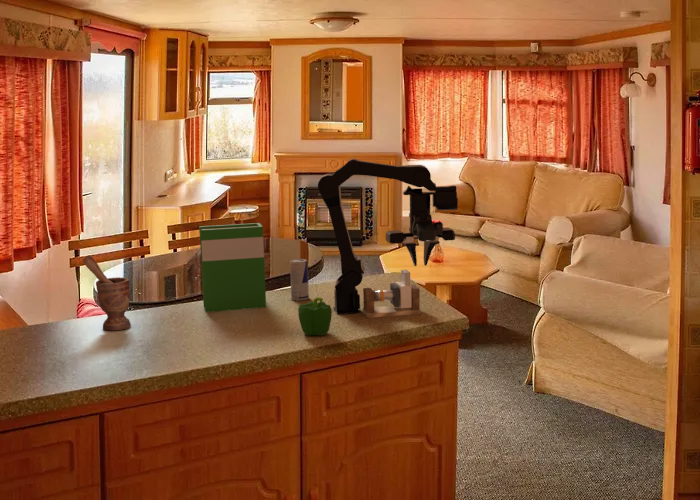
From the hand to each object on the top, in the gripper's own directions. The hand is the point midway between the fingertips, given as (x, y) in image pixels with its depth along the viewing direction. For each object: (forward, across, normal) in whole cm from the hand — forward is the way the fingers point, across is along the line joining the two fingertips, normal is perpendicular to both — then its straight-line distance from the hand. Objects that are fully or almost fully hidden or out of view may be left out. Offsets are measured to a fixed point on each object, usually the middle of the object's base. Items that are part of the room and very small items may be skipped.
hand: (420, 265), depth 218 cm
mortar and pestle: (+13, -86, +5) cm, 87 cm away
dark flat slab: (+11, -8, 0) cm, 13 cm away
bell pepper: (+13, -33, -15) cm, 38 cm away
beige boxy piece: (+11, -5, 0) cm, 12 cm away
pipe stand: (+13, -8, 0) cm, 16 cm away
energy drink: (+13, -32, +23) cm, 41 cm away
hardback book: (+13, -52, +19) cm, 56 cm away
